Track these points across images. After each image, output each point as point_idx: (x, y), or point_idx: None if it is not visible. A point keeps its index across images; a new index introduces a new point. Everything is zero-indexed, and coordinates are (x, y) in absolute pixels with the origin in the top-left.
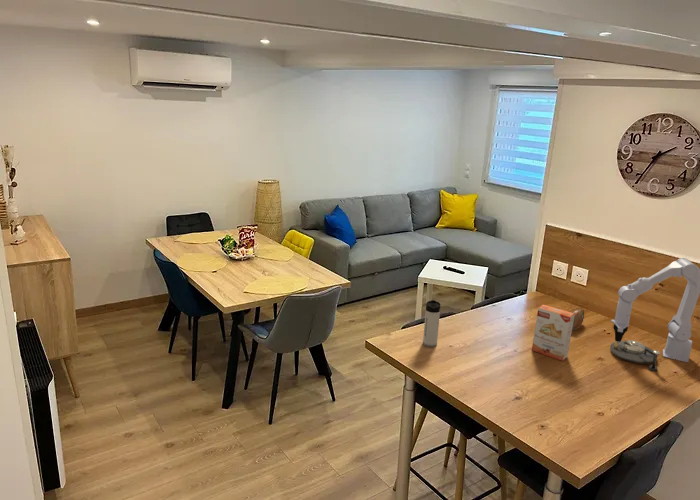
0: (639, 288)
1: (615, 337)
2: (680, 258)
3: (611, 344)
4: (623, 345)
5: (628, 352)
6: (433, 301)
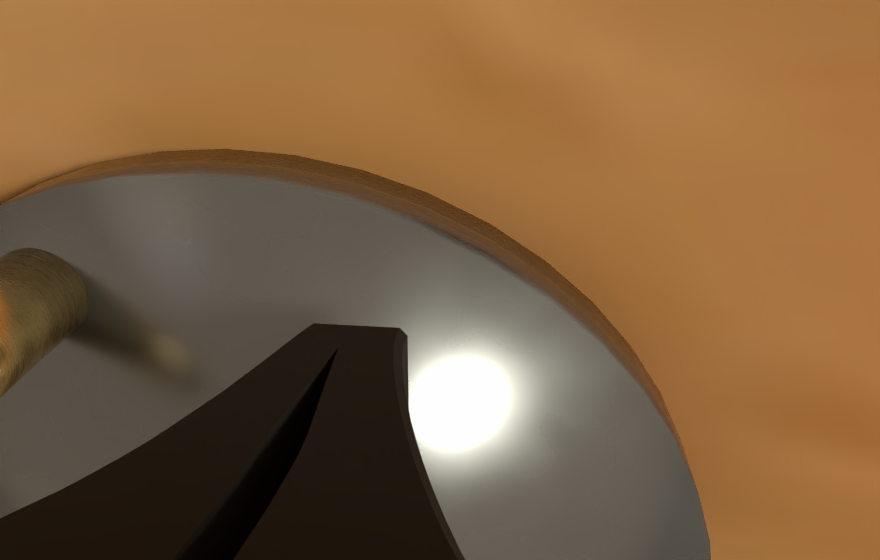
0: None
1: (251, 380)
2: None
3: (253, 193)
4: None
5: None
6: None
